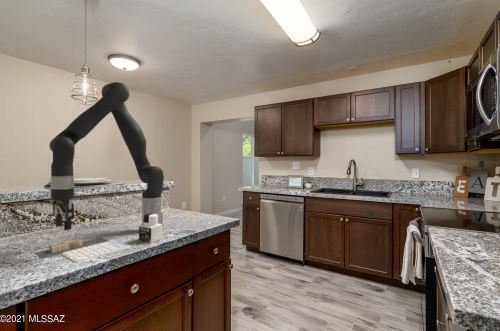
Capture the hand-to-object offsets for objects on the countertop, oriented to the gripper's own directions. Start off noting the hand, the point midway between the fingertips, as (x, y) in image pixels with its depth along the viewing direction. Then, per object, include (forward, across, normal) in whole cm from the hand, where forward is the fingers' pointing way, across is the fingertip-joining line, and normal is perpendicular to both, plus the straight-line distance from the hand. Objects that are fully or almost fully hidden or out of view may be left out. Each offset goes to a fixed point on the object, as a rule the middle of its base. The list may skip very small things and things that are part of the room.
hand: (63, 227), depth 98 cm
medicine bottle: (+10, +17, +28) cm, 34 cm away
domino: (+7, 0, +6) cm, 9 cm away
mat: (+9, +1, +4) cm, 10 cm away
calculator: (+10, +12, +7) cm, 17 cm away
